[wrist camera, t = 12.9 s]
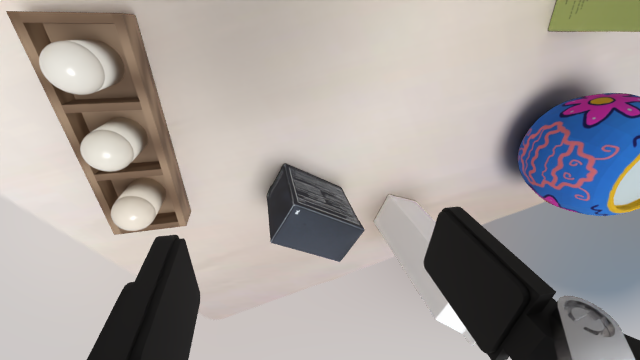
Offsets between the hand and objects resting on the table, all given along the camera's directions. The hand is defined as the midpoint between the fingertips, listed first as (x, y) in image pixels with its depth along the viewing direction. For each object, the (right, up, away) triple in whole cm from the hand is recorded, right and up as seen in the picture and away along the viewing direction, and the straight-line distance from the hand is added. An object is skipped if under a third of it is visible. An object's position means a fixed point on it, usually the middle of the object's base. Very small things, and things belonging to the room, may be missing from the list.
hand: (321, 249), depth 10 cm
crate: (-23, +8, +22) cm, 33 cm away
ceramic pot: (+39, +10, +36) cm, 54 cm away
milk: (+13, -3, +37) cm, 40 cm away
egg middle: (-23, +8, +21) cm, 32 cm away
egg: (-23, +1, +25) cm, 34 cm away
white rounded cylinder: (-23, +15, +17) cm, 32 cm away
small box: (-2, +1, +31) cm, 32 cm away
